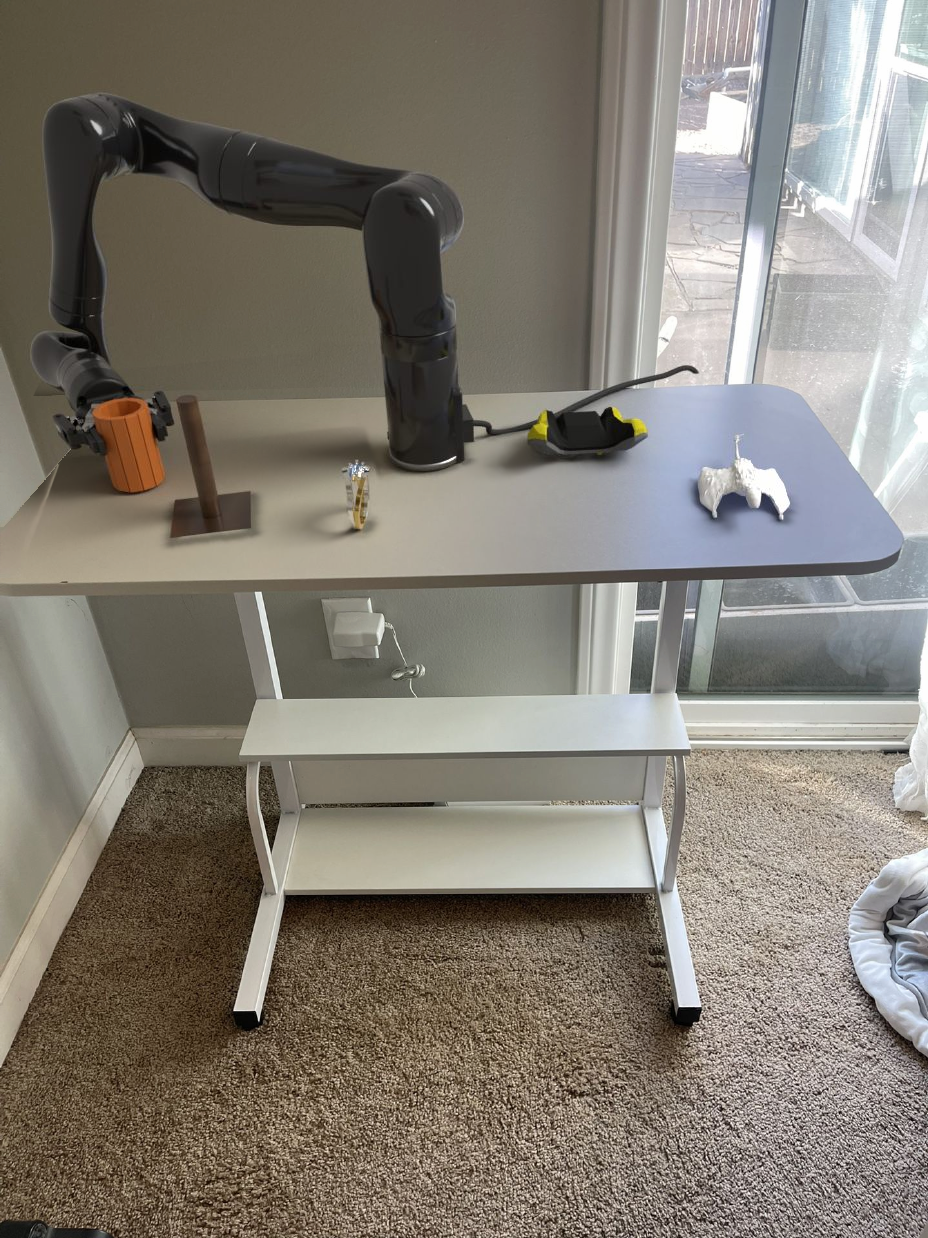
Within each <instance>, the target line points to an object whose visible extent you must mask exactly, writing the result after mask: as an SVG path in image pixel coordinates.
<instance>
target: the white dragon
mask: <svg viewBox="0 0 928 1238" xmlns="http://www.w3.org/2000/svg"><path fill="white" fill-rule="evenodd" d="M744 435H745V433H742V434H736V435H735V436H734V439H733V442H734V443H735V444H734V460H733V462H731V465H730V466H729V467H726V468H725V467H723V468H718V469H716V468H712V467H708V466H704V467H702V468H701V471H700V473H699V476H698V479H697V487H698V493H699V501H700V503H701V505H702V506H704V507H705V508H706V509H708V510H709V511H711V513H712V517H713V519H717V518H718V512H717V508H718V506H719V504H720V502H721V500H722V498H723V496H726V495H729V494H731V493H735V494H737V495H739V496H741V497H745V499H746V502H747V506H748V507H749V508H751V509H758V508H759V507H760V505H761V502H762V494H764V495H766V496H767V497H768V498H770V500H771V502H772V503H773V505H774V507H775V509H776V511H777V512H778V519H779V521H783V520H784V512H786V510H787V509H788V508H789V507H790V504H791V502H790V499H789V497H788V493H787V490H786V486H785V484H784V482H783V481H782V479H781V478H780V476H779V474H778V473H777V471H776V469H775V468H772V467H771V468H768V469H762V468H757V467H756V466H754V464H753V463H752V460H750V459H747V458H745V457H740V454H739V446H738V442H739V441H740V440H741V438H742V436H744Z"/></svg>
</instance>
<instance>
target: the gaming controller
mask: <svg viewBox="0 0 928 1238" xmlns="http://www.w3.org/2000/svg"><path fill="white" fill-rule="evenodd" d="M537 419H538V421H537V425H533V427H532V428H530V429H529V431H528V433H527V435H526V436H527V437H526V439H527V440H526V445H527V446H528V447H529V448H531V449H533V450H534V451H536V452H537V453H539V454H541V455H558V456H559V457H561V458H563V459H572V458H576V457H577V455H581V454H596V455H597V456H600V455H601V456H602V455H603V453H610V452H620V451H622V452H623V451H628V450H631V449H633V448H635V447H636V446H637V445H638V444H640V443H641V442H643V441H644V440H645V439H647V438H649V434H648V428H647V427H646V425H645V423H644V422H643V420H642V419H639V418H625V419H623V417H622V415H621V413H620V411H619V410H618V409H617V408H616V407H613V406H612V405H609V406H606V407H605V408H604V410H603V411H602V412H601V415H600V414H599V413H598V412H597V410H589V411H587V410H586V411H585V410H584V411H572V412H566V413H562V414H561V415H560V416H559V417H558V418H556V417H555V415H554V412H553V411H552V410H550V409H546V408H545V409H544V410H543V411H542V412H541V413H540V414H539V416H538V417H537Z"/></svg>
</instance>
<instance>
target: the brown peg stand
mask: <svg viewBox="0 0 928 1238" xmlns="http://www.w3.org/2000/svg"><path fill="white" fill-rule="evenodd" d="M175 401H176V402H175V403H176V406H177V411H178V415H179V420H180V424H181V428H182V432H183V436H184V441H185V445H186V449H187V455H188V459H189V462H190V467H191V471H192V475H193V480H194V484H195V488H196V494H197V496H196V497H189V498H188V497H187V498H180V499H174V506H173V512H172V523H171V530H170V539H174V538H182V537H190V536H198V535H206V534H215V533H223V532H231V531H238V530H247V529H252V499H251V498H252V495H251V494H252V493H251V490H248V491H247V490H246V491H238V492H230V493H229V492H228V493H221V494H218V489H217V484H216V479H215V475H214V470H213V466H212V462H211V461H212V460H211V457H210V452H209V448H208V444H207V438H206V433H205V429H204V423H203V420H202V415H201V411H200V405H199V401H198V397H197V396H196V395H193V394H185V395H181V396H178V397H177V398H176V399H175Z"/></svg>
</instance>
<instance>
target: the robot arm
mask: <svg viewBox="0 0 928 1238" xmlns="http://www.w3.org/2000/svg"><path fill="white" fill-rule="evenodd" d="M41 131H42V132H41V135H42V136H41V142H42V143H41V145H42V157H43V165H44V175H45V184H46V185H45V186H46V196H47V204H48V213H49V222H50V232H51V233H50V234H51V268H50V281H49V294H48V295H49V296H48V312H49V314H50V317H51V318H52V320H53V321H54V322H55V323H57V324H58V325H60V326H62V327H63V328H66V329H68V330H70V331H65V330H64V331H63V330H44V331H42V332H39V333H38V334H36V336H35V337H34V338H33V340H32V342H31V343H30V344H31V345H30V349H29V350H30V351H29V352H30V353H29V355H30V361H31V364H32V367H33V369H34V371H35V373H36V374H37V375H38V377H39V378H40V379H41V380H42V381H43V382H45V383H46V384H47V385H49V386H51V387H53V388H55V389H57V390H59V391H60V392H63V393H64V394H65V397H66V401H67V402H68V405H69V406H70V409H71V410H73V412H74V413H75V415H74V416H69V415H64V414H63V413H56V414H54V415H53V416H52V418H53V422H54V425H55V427H56V428H55V429H56V431H57V434H58V436H59V437H60V438H61V439H62V441H63V442H65V444H66V445H67V446H68V447H69V448H70V449H71V450H78V449H80V448H82V445H85V446H86V447H87V448H89V450H90V452H91V453H92V454H95V455H98V454H99V456H100V457H101V458H102V457H105V456H106V455H107V452H106V449H105V445H104V442H103V439H102V437H101V436H100V434H99V433H98V432H97V429H96V425H95V422H94V418H93V415H92V413H93V410H94V409H95V408H96V407H97V406H99V405H100V404H102V403H104V402H107V401H111V400H114V399H115V400H116V399H122V398H136V399H142V400H143V401H145V402H146V403H147V404H148V408H149V412H150V416H151V420H152V424H153V428H154V432H155V436H156V440H157V442H159V443H161V442H165V441H166V437H168V436H169V431H168V428H167V427H172V426H174V425H175V424H176V423H175V420H174V417H173V416H174V415H173V412H172V407H171V403H170V402H169V400H168V398H167V396H166V394H165V392H164V391H163V390H157V391H154V392H153V395H152V396H151V398H147V399H143V397H141V396H138V395H136V394H135V392H134V391H133V389H132V388H131V387H130V386H129V385H128V383H127V382H126V381H125V380H124V378H123V377H122V376H121V374H120V373H119V372H118V371H117V370H116V369H115V368H113V366H112V358H111V353H110V352H111V351H110V348H109V344H108V341H107V335H106V328H105V308H106V307H105V305H106V297H107V290H108V278H109V276H108V275H109V273H108V264H107V259H106V256H105V253H104V250H103V248H102V246H101V243H100V241H99V238H98V235H97V232H96V228H95V222H94V218H95V217H94V216H95V214H94V213H95V206H96V202H97V201H96V200H97V197H98V193H99V189H100V187H101V184H102V183H105V182H108V181H112V180H115V179H118V178H120V177H124V176H130V175H141V176H148V177H154V178H160V179H165V180H168V181H172V182H176V183H179V184H180V185H183V186H184V187H186V188H187V189H189V191H191V192H192V193H193V194H195V196H196V197H198V198H199V199H200V200H201V201H203V202H204V203H206V204H207V205H209V206H210V207H212V209H213V208H214V209H215V210H216V211H219V212H221V213H223V214H227V215H230V216H233V217H236V218H240V219H244V220H247V221H251V222H255V223H259V224H265V225H268V226H269V225H270V226H275V227H277V226H278V227H288V228H289V227H292V228H293V227H294V228H345V229H350V230H355V231H358V232H361V237H362V247H363V254H364V263H365V271H366V279H367V285H368V293H369V297H370V300H371V304H372V306H373V308H374V310H375V312H376V314H377V318H378V319H377V320H378V329H379V330H378V331H379V341H380V353H381V365H382V375H383V386H384V387H383V389H384V398H385V409H386V410H385V411H386V421H387V432H386V435H387V440H388V447H389V449H388V453H389V460H390V462H391V463H392V464H394V465H395V466H396V467H398V468H401V469H404V470H407V471H414V472H430V471H437V470H441V469H446V468H448V467H450V466H452V465H454V464H455V463H460V462H464V461H465V444H466V443H475V427H479V428H480V427H481V428H482V427H483V428H484V429H485V432H486V434H487V435H490V436H501V435H505V434H512V433H516V432H517V433H518V432H522V431H523V432H524V431H527V430H531V428H532V427H533V425H537V421H538V418H537V419H535V420H531V421H529V422H525V423H522V424H519V425H517V426H513V427H509V428H504V429H503V428H502V429H495V428H493V426H492V424H491V422H489V421H486V420H482V419H480V420H479V419H474V418H473V415H472V414H471V412H470V410H469V408H468V405H467V404H466V403H463V402H464V401H463V391H462V388H461V386H460V384H459V363H458V360H459V359H458V337H457V334H458V333H457V310H456V309H457V308H456V307H457V306H456V302H455V300H454V298H453V297H452V296H451V295H450V294H448V293H447V292H445V290H444V289H445V288H444V282H443V280H444V279H443V271H442V269H443V268H442V255H443V254H445V253H446V252H447V251H448V250H449V249H451V247H452V246H453V245H454V244H455V243H456V241H457V240H458V238H459V236H460V235H461V234H462V231H463V228H464V221H465V213H464V207H463V205H462V202H461V200H460V198H459V195H458V193H456V191H455V190H454V188H453V187H451V185H449V183H447V182H446V181H445V180H444V179H442V178H441V177H439V176H437V175H434V174H433V173H430V172H426V171H419V170H411V169H400V168H394V167H393V168H392V167H385V166H377V165H370V164H363V163H359V162H354V161H349V160H346V159H343V158H340V157H336V156H333V155H331V154H328V153H324V152H322V151H317V150H314V149H310V148H307V147H303V146H300V145H295V144H292V143H288V142H285V141H281V140H278V139H276V138H273V137H269V136H264V135H261V134H257V133H253V132H249V131H246V130H241V129H237V128H236V129H235V128H229V127H224V126H220V125H216V124H213V123H207V122H201V121H195V120H190V119H184V118H179V117H176V116H173V115H171V114H167V113H164V112H161V111H159V110H156V109H153V108H151V107H150V106H149V107H148V106H146V105H144V104H141V103H138V102H137V101H134V100H130V99H128V98H126V97H123V96H121V95H118V94H114V93H109V92H94V93H87V94H82V95H78V96H74V97H69V98H66V99H63V100H60V101H57V102H55V103H53V104H52V105H51V106H50V107H49V108H48V109H47V111H46V113H45V115H44V117H43V122H42V130H41ZM71 330H72V331H71ZM686 371H688V372H689V373H692V374H694V375H698V374H700V371H699V370H698V369H697V367H695V366H693V365H690V364H685V365H679V366H677V367H674V368H672V369H670V370H667V371H665V372H662V373H657V374H653V375H649V376H645V377H640V378H636V379H631V380H627V381H625V382H620V383H618V384H615V385H612V386H609V387H607V388H605V389H602V390H599V391H598V392H595V393H594V394H592V395H589V396H587V397H585V398H583V399H581V400H578V401H575V402H574V403H573V404H571V405H568V406H567V407H565V408H563V409H560V410H559V411H556V412H553V414H554V415H555V417H556V418H558V417H559V416H560V415H561V414H562V413H566V412H574V411H575V410H577V409H579V408H581V407H584V406H585V405H586V406H587V405H588V404H590V403H593V402H595V401H596V400H598V399H601V398H602V397H605V396H607V395H609V394H612V393H614V392H618V391H620V390H621V391H622V390H623V389H627V388H630V387H631V388H632V387H635V386H638V385H642V384H647V383H652V382H655V381H660V380H664V379H667V378H670V377H673V376H674V375H678V374H679V373H682V372H686ZM77 427H80V428H81V429H77Z"/></svg>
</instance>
